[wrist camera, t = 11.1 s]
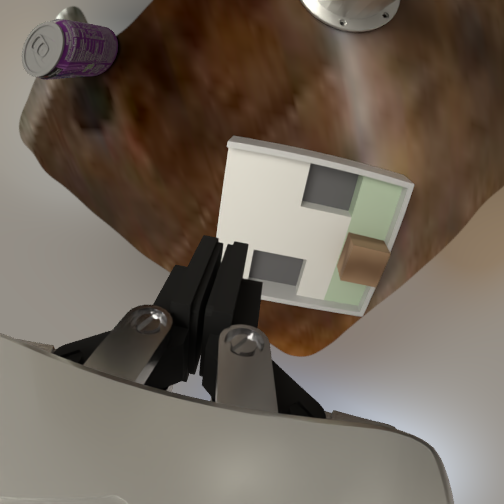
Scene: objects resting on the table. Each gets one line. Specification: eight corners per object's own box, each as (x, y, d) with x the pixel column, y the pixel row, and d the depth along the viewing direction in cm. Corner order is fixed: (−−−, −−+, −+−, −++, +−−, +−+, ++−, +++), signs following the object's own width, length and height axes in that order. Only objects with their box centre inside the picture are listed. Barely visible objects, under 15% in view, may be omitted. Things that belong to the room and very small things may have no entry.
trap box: (233, 135, 37) (227, 141, 34) (403, 175, 37) (414, 184, 34) (214, 273, 47) (208, 289, 44) (358, 299, 47) (362, 316, 44)
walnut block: (348, 232, 39) (353, 245, 36) (383, 240, 39) (390, 254, 36) (336, 265, 42) (340, 280, 39) (370, 272, 42) (376, 287, 39)
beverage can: (69, 55, 33) (10, 57, 22) (101, 17, 30) (46, 6, 20) (95, 86, 35) (38, 94, 25) (130, 48, 32) (77, 41, 22)
